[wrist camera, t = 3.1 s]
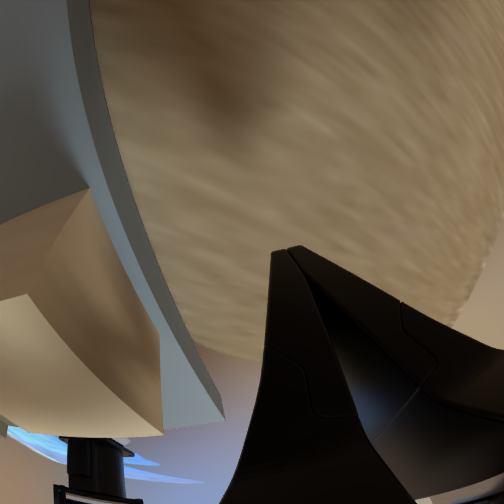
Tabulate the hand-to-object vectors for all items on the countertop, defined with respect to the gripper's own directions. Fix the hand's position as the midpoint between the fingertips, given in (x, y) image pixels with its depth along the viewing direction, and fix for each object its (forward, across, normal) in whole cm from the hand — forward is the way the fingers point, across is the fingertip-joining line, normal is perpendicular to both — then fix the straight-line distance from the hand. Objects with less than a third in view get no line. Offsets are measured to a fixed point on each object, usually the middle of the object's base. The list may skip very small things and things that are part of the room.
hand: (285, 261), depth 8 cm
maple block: (+1, +8, 0) cm, 8 cm away
